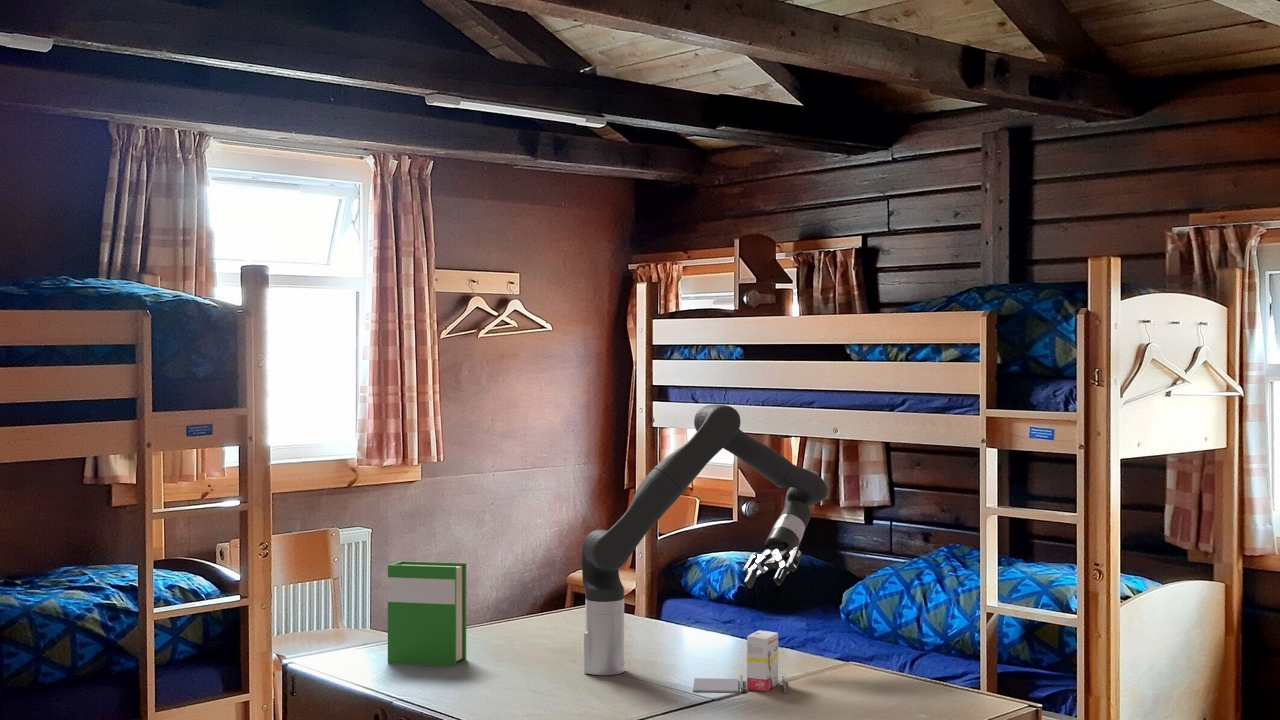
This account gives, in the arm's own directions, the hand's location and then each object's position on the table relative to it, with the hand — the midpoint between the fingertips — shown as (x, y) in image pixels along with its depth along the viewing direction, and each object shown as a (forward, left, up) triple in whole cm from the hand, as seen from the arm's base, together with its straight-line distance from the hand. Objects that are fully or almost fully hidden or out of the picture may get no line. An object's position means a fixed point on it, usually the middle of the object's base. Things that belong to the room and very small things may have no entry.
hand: (762, 584), depth 283 cm
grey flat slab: (-6, -15, -21) cm, 26 cm away
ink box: (0, -15, -21) cm, 25 cm away
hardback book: (-82, +6, -21) cm, 85 cm away
